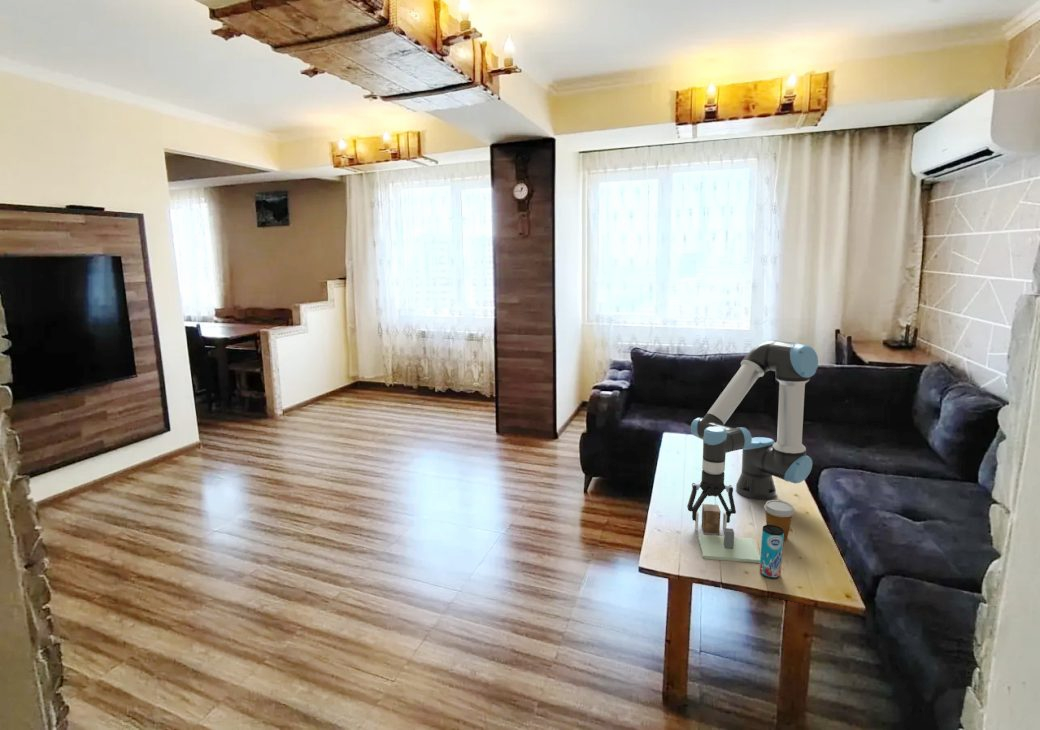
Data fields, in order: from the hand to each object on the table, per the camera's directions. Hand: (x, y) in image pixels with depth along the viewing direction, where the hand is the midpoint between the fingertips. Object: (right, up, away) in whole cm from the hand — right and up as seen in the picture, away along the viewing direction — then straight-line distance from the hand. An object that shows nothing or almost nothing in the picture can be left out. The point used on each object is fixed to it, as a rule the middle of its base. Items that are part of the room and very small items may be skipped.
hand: (710, 529), depth 194 cm
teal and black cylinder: (+9, -6, -28) cm, 29 cm away
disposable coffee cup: (+21, -1, -6) cm, 22 cm away
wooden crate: (0, 0, 0) cm, 0 cm away
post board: (+1, -3, -13) cm, 14 cm away
